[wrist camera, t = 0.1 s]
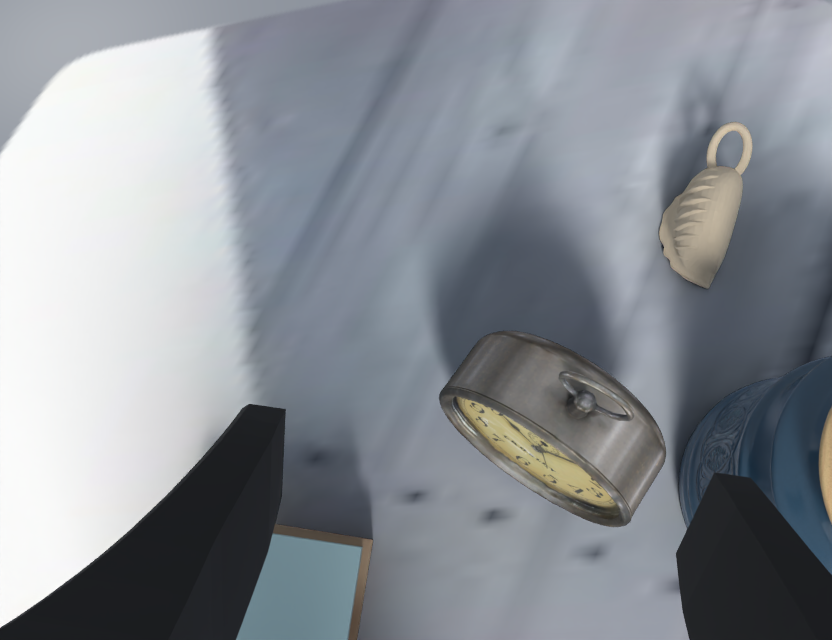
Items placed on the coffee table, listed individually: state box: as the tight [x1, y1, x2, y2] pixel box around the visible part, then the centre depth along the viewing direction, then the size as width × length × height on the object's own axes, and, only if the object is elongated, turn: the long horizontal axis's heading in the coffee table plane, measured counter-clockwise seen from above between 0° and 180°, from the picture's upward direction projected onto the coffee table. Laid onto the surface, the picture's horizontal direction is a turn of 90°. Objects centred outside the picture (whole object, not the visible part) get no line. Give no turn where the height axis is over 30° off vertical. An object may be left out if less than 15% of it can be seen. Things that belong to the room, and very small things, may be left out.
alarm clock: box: [439, 331, 666, 527], centre depth 38 cm, size 11×5×16 cm, turn 54°
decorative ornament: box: [659, 122, 752, 289], centre depth 47 cm, size 4×8×5 cm, turn 157°
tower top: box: [236, 533, 363, 640], centre depth 39 cm, size 9×9×3 cm
